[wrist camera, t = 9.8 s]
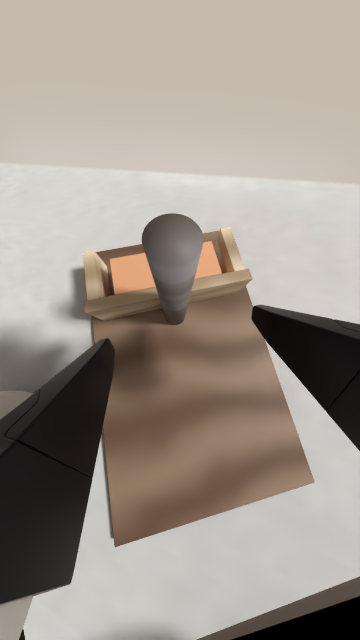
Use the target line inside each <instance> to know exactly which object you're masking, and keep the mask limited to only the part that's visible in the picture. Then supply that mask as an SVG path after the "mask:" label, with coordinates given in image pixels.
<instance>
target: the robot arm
mask: <svg viewBox="0 0 360 640" xmlns="http://www.w3.org/2000/svg"><path fill="white" fill-rule="evenodd" d="M251 319H252V321H253V323H254V324H255V326H256V327H257V329H258V330H259V332H260V333H261V335H262V336H263V338H264V339H265V340H266V341H267V343H268V344H269V345H270V346H271V347H272V348H273V350H274V351H275V352H276V353H277V354H278V356H279V357H280V358H281V359H282V360H283V361H284V363H285V364H286V365H287V366H288V367H289V368H290V370H291V371H292V372H293V373H294V374H295V375H296V377H297V378H298V379H299V380H300V381H301V383H302V384H303V385H304V386H305V387H306V388H307V390H308V391H309V392H310V393H311V394H312V395H313V397H314V398H315V399H316V400H317V401H318V402H319V404H320V405H321V406H322V407H323V408H324V410H325V411H326V412H327V413H328V414H329V416H330V417H331V418H332V419H333V420H334V421H335V423H336V424H337V425H338V426H339V427H340V428H341V430H342V431H343V432H344V433H345V434H346V436H347V437H348V438H349V439H350V440H351V441H352V443H353V444H354V445H355V446H356V447H357V448H358V450H359V451H360V324H355V323H350V322H345V321H340V320H333V319H330V318H325V317H320V316H315V315H310V314H305V313H300V312H295V311H290V310H285V309H280V308H275V307H270V306H265V305H256V306H254V307H253V309H252V316H251ZM114 358H115V349H114V347H113V345H112V343H111V341H110V339H108V338H105V339H101V340H99V341H98V342H97V343H96V344H94V345H93V346H92V347H91V348H89V349H88V350H87V351H86V352H85V353H83V354H82V355H81V356H80V357H78V358H77V359H76V360H75V361H73V362H72V363H71V364H70V365H68V366H67V367H66V368H65V369H63V370H62V371H61V372H60V373H58V374H57V375H56V376H55V377H53V378H52V379H51V380H50V381H48V382H47V383H46V384H45V385H43V386H42V387H41V389H38V390H37V391H36V392H35V393H33V394H32V395H31V396H30V397H28V398H27V399H26V400H25V401H23V402H22V403H21V404H20V405H18V406H17V407H16V408H14V409H13V410H12V411H10V412H9V413H8V414H7V415H5V416H4V417H3V418H1V419H0V640H25V636H24V629H23V626H24V623H25V620H26V616H27V613H28V610H29V607H30V604H31V601H32V598H33V596H36V595H39V594H42V593H45V592H48V591H51V590H54V589H57V588H60V587H63V586H66V585H69V584H70V583H71V580H72V576H73V572H74V568H75V563H76V558H77V553H78V548H79V543H80V538H81V533H82V528H83V523H84V518H85V513H86V508H87V503H88V498H89V493H90V488H91V483H92V477H93V473H94V468H95V463H96V458H97V453H98V448H99V443H100V438H101V433H102V428H103V423H104V418H105V413H106V408H107V403H108V398H109V393H110V388H111V383H112V378H113V371H114ZM22 629H23V630H22ZM197 640H360V577H357V578H355V579H352V580H350V581H347V582H344V583H342V584H339V585H337V586H334V587H332V588H329V589H326V590H324V591H321V592H319V593H316V594H313V595H311V596H308V597H306V598H303V599H301V600H298V601H295V602H293V603H290V604H288V605H285V606H282V607H280V608H277V609H275V610H272V611H270V612H267V613H264V614H262V615H259V616H257V617H254V618H251V619H249V620H246V621H244V622H241V623H239V624H236V625H233V626H231V627H228V628H226V629H223V630H220V631H218V632H215V633H213V634H210V635H208V636H205V637H202V638H200V639H197Z"/></svg>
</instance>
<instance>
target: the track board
mask: <svg viewBox="0 0 360 640" xmlns="http://www.w3.org/2000/svg"><path fill="white" fill-rule="evenodd" d="M218 234H219V231H215V232H210V233H204V234H203V242H208V241H212V244H213V247H214V245H215V242H216V239H217V236H218ZM214 250H215V249H214ZM96 253H97V255H98V256H99V257H100V258H101V260H102V261H103V262H104V263H105V264H106V266H107V270H108V277H109V285H110V293H111V296H112V295H115V293H114V286H113V279H112V272H111V265H110V259H113V258H119V257H124V256H130V255H136V254H141V253H145V251H144V248H143V245H142V244H141V245H135V246H129V247H123V248H118V249H112V250H106V251H100V252H96ZM218 263H219V262H218ZM219 266H220V265H219ZM220 269H221V268H220ZM221 272H222V271H221ZM252 309H253V305H252V303H251V300H250V297H249V294H248V291H247V288H246V285H245V286H244V287H243V288H242V289H241V290H240V291H239V292H238V293H234V294H229V295H225V296H220V297H215V298H210V299H205V300H201V301H196V302H191V303H188V307H187V311H186V315H185V318H184V321H183V322H182V323H180V324H178V325H172V324H170V323H169V322H168V321H167V320H166V317H165V314H164V311H163V308H162V309H158V310H153V311H148V312H143V313H138V314H134V315H129V316H124V317H119V318H114V319H110V320H105V321H103V320H101V319H99V318H96V317H94V316H92V323H93V333H94V343H95V344H96V343H97V342H98V341H99V340H101V339H105V338H108V339H110V341H111V343H112V345H113V347H114V349H115V358H114V371H113V378H112V383H111V388H110V393H109V398H108V403H107V408H106V413H105V418H104V423H103V434H104V444H105V454H106V464H107V474H108V484H109V494H110V504H111V514H112V524H113V534H114V545H115V547H117V546H120V545H123V544H126V543H129V542H132V541H135V540H139V539H142V538H145V537H148V536H151V535H154V534H157V533H160V532H163V531H166V530H169V529H172V528H176V527H179V526H182V525H185V524H188V523H191V522H194V521H197V520H200V519H203V518H206V517H209V516H213V515H216V514H219V513H222V512H225V511H228V510H231V509H234V508H237V507H240V506H243V505H246V504H250V503H253V502H256V501H259V500H262V499H265V498H268V497H271V496H274V495H277V494H280V493H283V492H286V491H290V490H293V489H296V488H299V487H302V486H305V485H308V484H311V483H314V479H313V476H312V474H311V471H310V468H309V465H308V462H307V459H306V456H305V454H304V451H303V448H302V445H301V442H300V439H299V436H298V434H297V431H296V428H295V425H294V422H293V419H292V417H291V414H290V411H289V408H288V405H287V402H286V399H285V397H284V394H283V391H282V388H281V385H280V382H279V379H278V377H277V374H276V371H275V368H274V365H273V362H272V360H271V357H270V354H269V351H268V348H267V345H266V342H265V340H264V338H263V336H262V335H261V333H260V332H259V330H258V329H257V327H256V326H255V324H254V323H253V321H252V319H251V316H252Z"/></svg>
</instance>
